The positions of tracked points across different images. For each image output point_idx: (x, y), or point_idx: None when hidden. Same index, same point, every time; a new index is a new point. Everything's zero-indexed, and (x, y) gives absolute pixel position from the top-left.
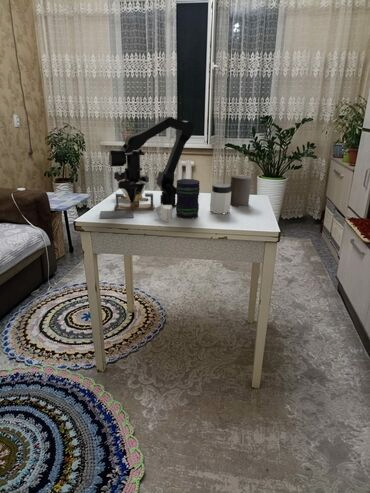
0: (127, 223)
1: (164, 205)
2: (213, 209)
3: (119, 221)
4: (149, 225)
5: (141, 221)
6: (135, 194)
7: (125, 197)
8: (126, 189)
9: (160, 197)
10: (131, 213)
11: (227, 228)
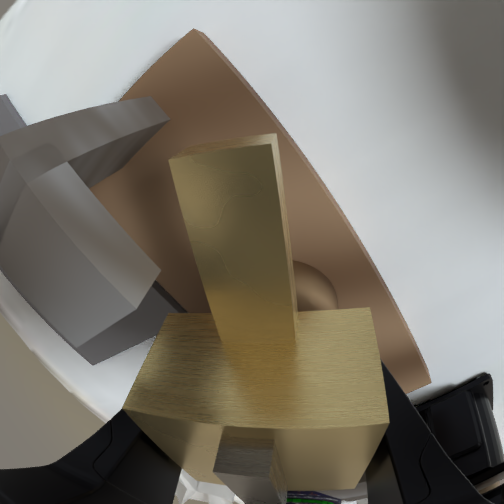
0: (41, 355)
1: (218, 495)
2: (361, 500)
3: (22, 319)
4: (100, 416)
5: (99, 394)
6: (196, 474)
7: (206, 273)
8: (44, 483)
9: (471, 431)
10: (120, 338)
11: (241, 501)
